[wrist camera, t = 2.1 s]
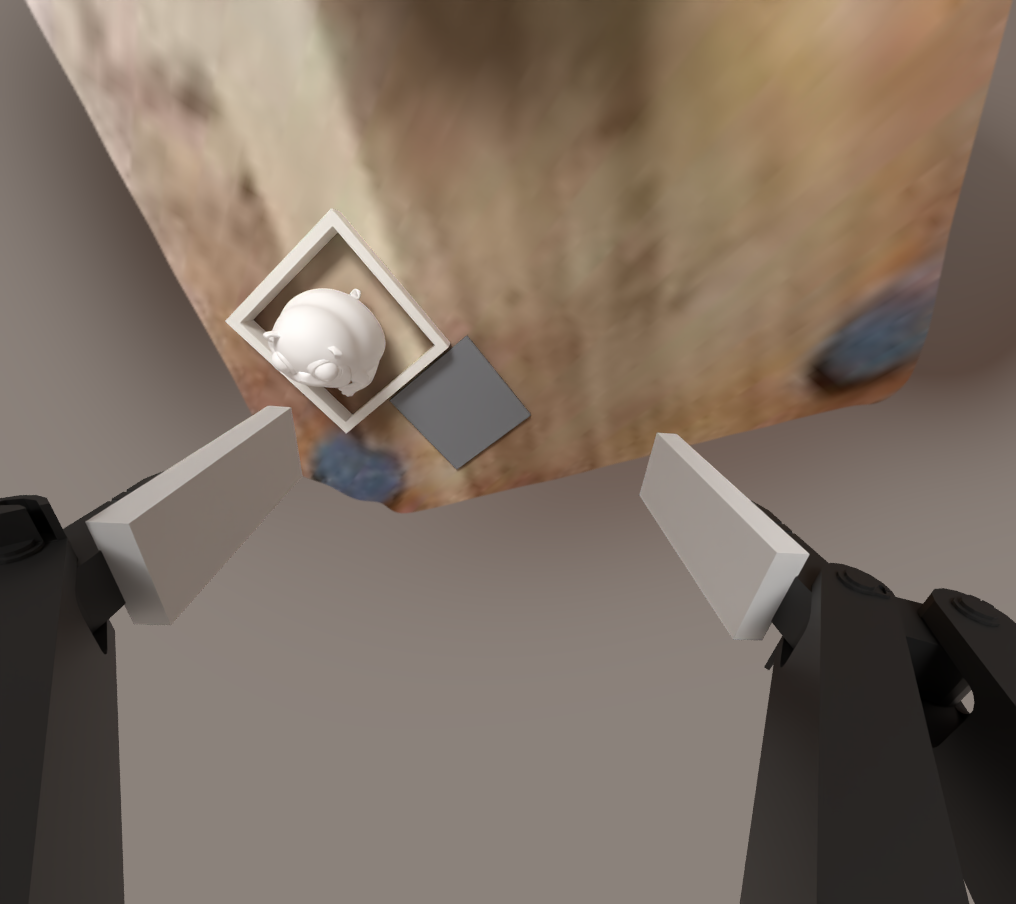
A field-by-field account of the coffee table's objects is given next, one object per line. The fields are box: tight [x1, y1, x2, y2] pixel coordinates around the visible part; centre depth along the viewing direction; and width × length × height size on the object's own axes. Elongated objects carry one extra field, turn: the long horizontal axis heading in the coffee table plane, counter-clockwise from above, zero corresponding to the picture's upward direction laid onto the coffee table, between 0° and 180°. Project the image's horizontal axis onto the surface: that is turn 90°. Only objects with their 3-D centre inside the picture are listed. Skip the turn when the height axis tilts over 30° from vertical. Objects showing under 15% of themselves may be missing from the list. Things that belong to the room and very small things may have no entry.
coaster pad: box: [390, 336, 531, 469], centre depth 46 cm, size 12×12×1 cm
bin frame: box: [225, 208, 450, 433], centre depth 41 cm, size 16×16×2 cm
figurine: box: [263, 288, 386, 397], centre depth 37 cm, size 10×10×12 cm
